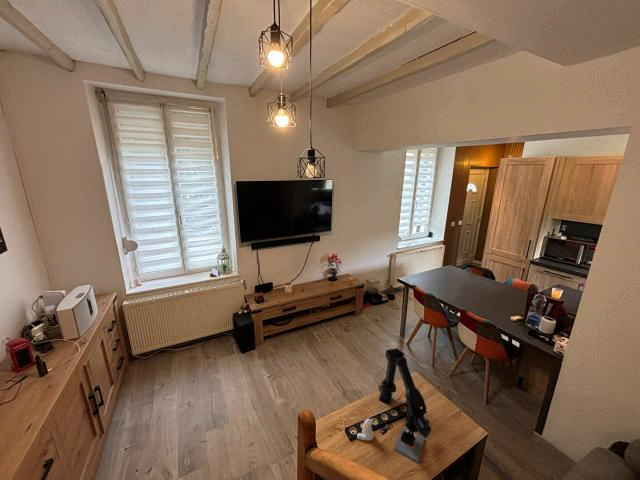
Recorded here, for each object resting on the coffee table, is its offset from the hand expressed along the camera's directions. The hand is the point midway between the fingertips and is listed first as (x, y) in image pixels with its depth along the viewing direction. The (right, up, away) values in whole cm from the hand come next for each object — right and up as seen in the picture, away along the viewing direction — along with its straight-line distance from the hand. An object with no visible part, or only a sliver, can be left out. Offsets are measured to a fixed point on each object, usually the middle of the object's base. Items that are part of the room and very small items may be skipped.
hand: (410, 439), depth 137 cm
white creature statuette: (-22, -2, +5) cm, 23 cm away
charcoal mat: (0, -3, +1) cm, 4 cm away
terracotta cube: (0, -2, +1) cm, 2 cm away
